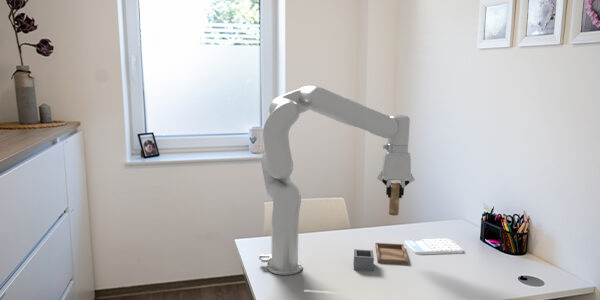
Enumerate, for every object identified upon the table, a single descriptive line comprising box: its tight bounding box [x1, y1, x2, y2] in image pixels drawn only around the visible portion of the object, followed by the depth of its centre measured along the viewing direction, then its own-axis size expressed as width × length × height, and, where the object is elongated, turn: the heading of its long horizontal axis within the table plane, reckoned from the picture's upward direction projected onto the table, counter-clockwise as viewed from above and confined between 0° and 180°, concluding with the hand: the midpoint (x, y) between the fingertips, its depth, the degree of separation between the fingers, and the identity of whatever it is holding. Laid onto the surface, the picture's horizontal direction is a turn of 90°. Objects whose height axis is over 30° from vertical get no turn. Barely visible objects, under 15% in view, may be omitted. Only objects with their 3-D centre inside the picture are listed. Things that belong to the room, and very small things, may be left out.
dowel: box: [388, 181, 401, 217], centre depth 173 cm, size 4×4×12 cm
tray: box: [374, 242, 409, 266], centre depth 177 cm, size 16×11×2 cm
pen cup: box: [353, 248, 375, 272], centre depth 166 cm, size 7×7×6 cm
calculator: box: [404, 237, 464, 255], centre depth 188 cm, size 13×20×2 cm, turn 97°
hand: (394, 196), depth 173 cm, fingers closed on dowel, 3 cm apart
